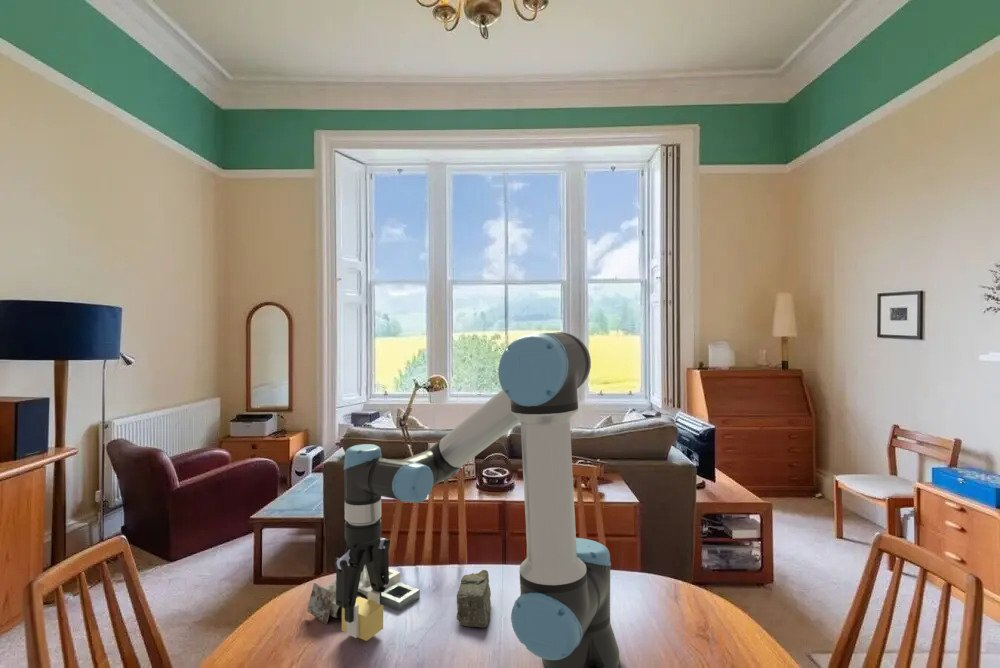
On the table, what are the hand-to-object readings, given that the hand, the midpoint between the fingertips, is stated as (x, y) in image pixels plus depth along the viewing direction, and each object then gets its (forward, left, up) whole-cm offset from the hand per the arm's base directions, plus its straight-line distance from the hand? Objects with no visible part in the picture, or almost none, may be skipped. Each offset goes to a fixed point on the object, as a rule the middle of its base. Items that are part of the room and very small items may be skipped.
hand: (363, 627), depth 112 cm
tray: (+14, -15, -2) cm, 20 cm away
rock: (-14, -21, -2) cm, 25 cm away
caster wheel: (+11, -4, -2) cm, 12 cm away
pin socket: (+4, -15, -2) cm, 16 cm away
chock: (0, 0, 0) cm, 1 cm away
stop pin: (+14, -15, -1) cm, 20 cm away
